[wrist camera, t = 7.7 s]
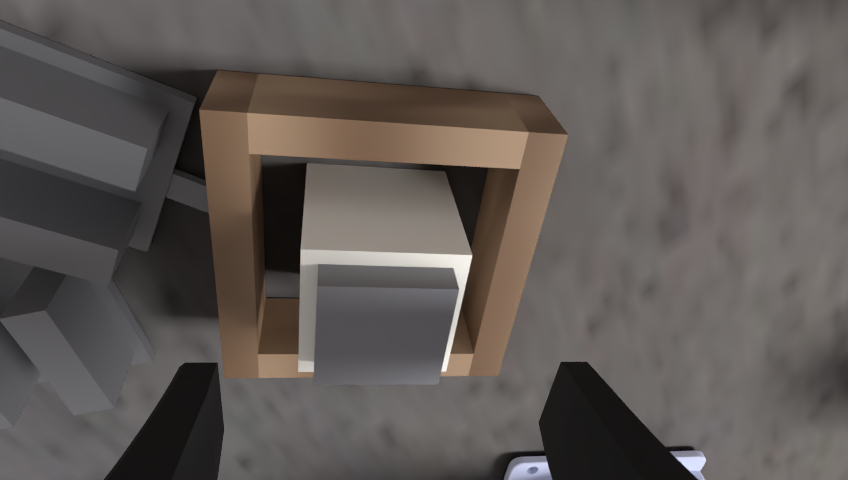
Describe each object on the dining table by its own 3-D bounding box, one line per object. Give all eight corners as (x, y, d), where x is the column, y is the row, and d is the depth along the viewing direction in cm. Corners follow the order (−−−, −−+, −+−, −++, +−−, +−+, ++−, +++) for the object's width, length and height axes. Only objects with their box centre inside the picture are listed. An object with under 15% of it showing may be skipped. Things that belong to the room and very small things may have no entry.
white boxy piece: (444, 170, 17) (479, 276, 13) (426, 276, 20) (451, 394, 15) (307, 161, 17) (299, 271, 12) (304, 273, 19) (296, 395, 15)
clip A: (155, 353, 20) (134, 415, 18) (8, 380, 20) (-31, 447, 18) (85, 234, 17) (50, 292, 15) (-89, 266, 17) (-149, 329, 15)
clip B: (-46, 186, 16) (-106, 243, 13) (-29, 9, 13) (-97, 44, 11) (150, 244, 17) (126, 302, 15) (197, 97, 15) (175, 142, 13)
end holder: (538, 95, 16) (567, 134, 14) (482, 322, 21) (498, 375, 19) (217, 70, 15) (199, 109, 13) (235, 320, 19) (224, 378, 17)
